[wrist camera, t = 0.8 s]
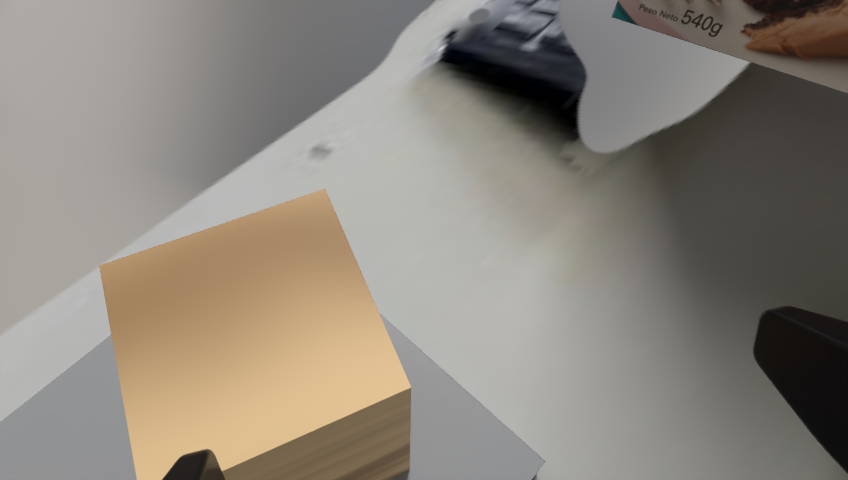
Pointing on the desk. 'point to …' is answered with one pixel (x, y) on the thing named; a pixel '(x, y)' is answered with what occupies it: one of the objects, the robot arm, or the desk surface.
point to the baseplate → (112, 455)
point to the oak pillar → (258, 352)
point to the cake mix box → (757, 32)
